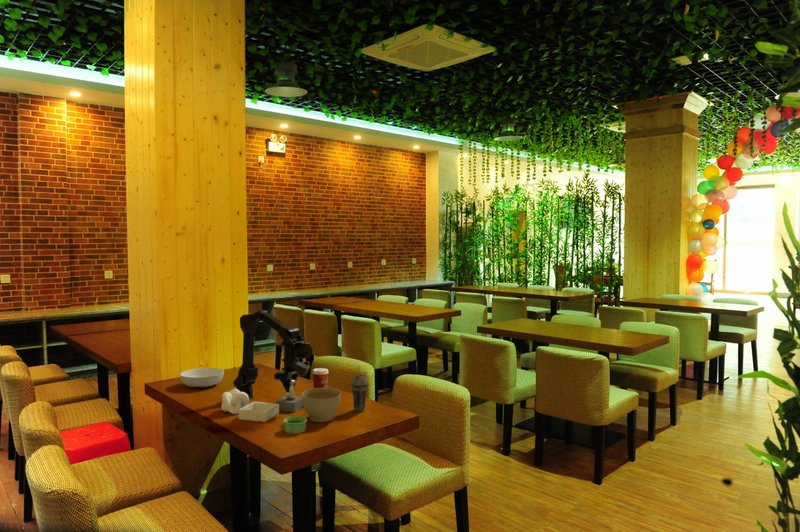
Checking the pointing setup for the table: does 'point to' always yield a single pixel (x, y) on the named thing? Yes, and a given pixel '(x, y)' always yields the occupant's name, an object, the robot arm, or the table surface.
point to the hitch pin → (291, 391)
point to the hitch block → (290, 404)
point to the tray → (258, 411)
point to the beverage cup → (359, 391)
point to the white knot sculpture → (234, 401)
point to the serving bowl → (202, 377)
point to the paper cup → (320, 377)
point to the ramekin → (295, 424)
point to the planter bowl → (321, 403)
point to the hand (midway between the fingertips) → (290, 391)
